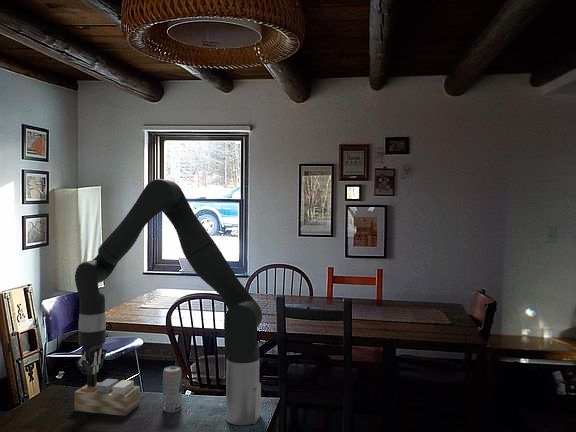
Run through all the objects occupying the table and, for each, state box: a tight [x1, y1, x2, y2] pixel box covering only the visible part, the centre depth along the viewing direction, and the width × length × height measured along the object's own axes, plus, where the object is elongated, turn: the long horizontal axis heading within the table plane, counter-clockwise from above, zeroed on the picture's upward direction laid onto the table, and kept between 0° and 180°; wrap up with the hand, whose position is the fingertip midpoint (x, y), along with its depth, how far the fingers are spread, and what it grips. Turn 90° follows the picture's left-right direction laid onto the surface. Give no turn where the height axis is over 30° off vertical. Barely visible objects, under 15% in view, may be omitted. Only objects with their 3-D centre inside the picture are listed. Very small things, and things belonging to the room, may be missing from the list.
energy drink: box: [162, 365, 183, 413], centre depth 148 cm, size 5×5×12 cm
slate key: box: [97, 378, 119, 394], centre depth 149 cm, size 4×6×3 cm, turn 169°
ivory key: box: [113, 379, 135, 395], centre depth 148 cm, size 4×6×3 cm, turn 169°
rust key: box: [80, 381, 101, 392], centre depth 150 cm, size 4×6×3 cm, turn 169°
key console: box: [74, 384, 141, 417], centre depth 149 cm, size 16×8×6 cm, turn 79°
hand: (92, 385), depth 150 cm, fingers closed
